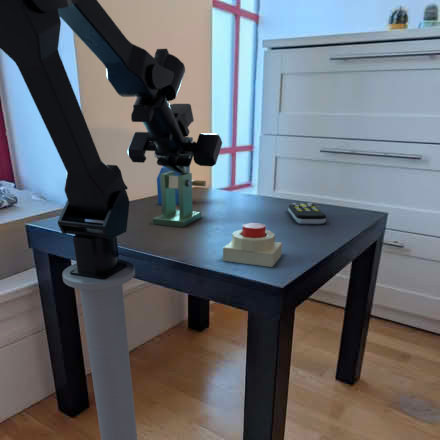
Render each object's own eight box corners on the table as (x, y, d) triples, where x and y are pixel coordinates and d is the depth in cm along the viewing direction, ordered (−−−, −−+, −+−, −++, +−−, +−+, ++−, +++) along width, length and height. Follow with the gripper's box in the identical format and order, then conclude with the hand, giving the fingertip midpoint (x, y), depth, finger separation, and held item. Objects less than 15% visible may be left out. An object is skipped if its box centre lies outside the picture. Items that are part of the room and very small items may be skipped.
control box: (271, 268, 63) (273, 242, 61) (222, 261, 65) (222, 236, 64) (281, 255, 68) (283, 231, 67) (235, 249, 71) (236, 226, 69)
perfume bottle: (158, 204, 104) (155, 153, 99) (162, 199, 110) (159, 151, 105) (182, 204, 104) (181, 154, 99) (185, 199, 110) (184, 151, 105)
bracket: (172, 214, 94) (170, 169, 90) (201, 217, 92) (200, 171, 88) (153, 224, 86) (150, 175, 82) (183, 227, 84) (182, 177, 80)
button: (261, 240, 63) (262, 229, 63) (239, 238, 65) (239, 227, 64) (267, 234, 66) (268, 224, 66) (246, 232, 68) (246, 221, 67)
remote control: (297, 225, 86) (298, 215, 85) (287, 211, 98) (287, 202, 97) (327, 224, 86) (328, 215, 85) (313, 211, 98) (314, 202, 97)
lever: (181, 187, 95) (181, 176, 94) (205, 189, 93) (206, 178, 92) (160, 187, 86) (160, 175, 85) (186, 189, 84) (187, 177, 83)
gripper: (218, 86, 76) (237, 145, 90) (129, 88, 82) (160, 142, 96) (202, 136, 72) (224, 189, 86) (110, 133, 78) (145, 183, 92)
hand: (187, 174), depth 90 cm, fingers closed
